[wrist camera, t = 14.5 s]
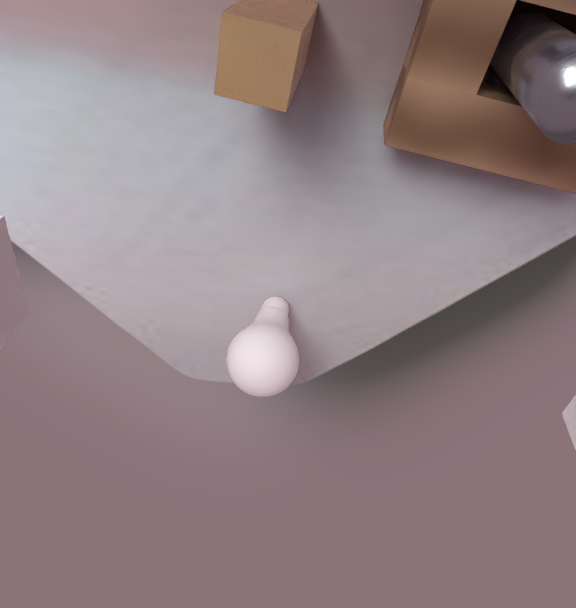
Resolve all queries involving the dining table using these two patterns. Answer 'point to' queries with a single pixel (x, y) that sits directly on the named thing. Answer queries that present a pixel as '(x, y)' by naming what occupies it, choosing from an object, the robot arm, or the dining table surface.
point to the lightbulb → (264, 352)
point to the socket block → (471, 97)
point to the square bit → (264, 50)
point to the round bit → (540, 72)
